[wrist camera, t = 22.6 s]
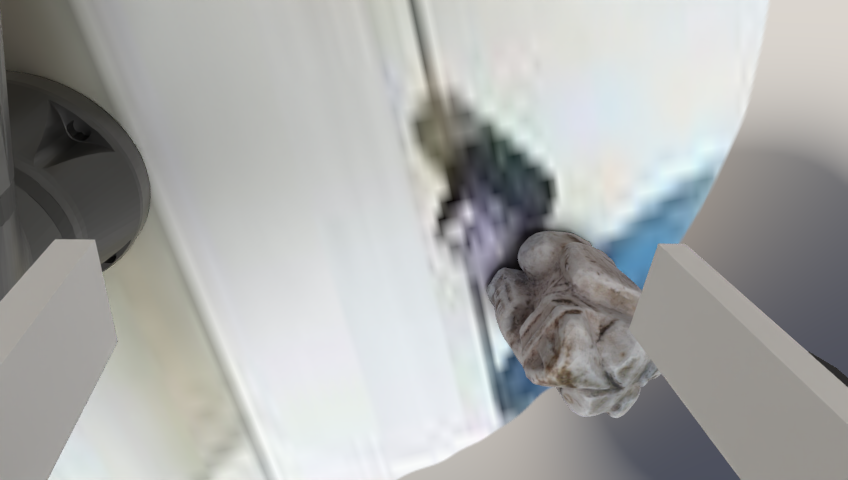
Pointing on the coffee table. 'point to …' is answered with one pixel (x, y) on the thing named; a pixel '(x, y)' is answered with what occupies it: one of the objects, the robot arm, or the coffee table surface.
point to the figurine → (573, 323)
